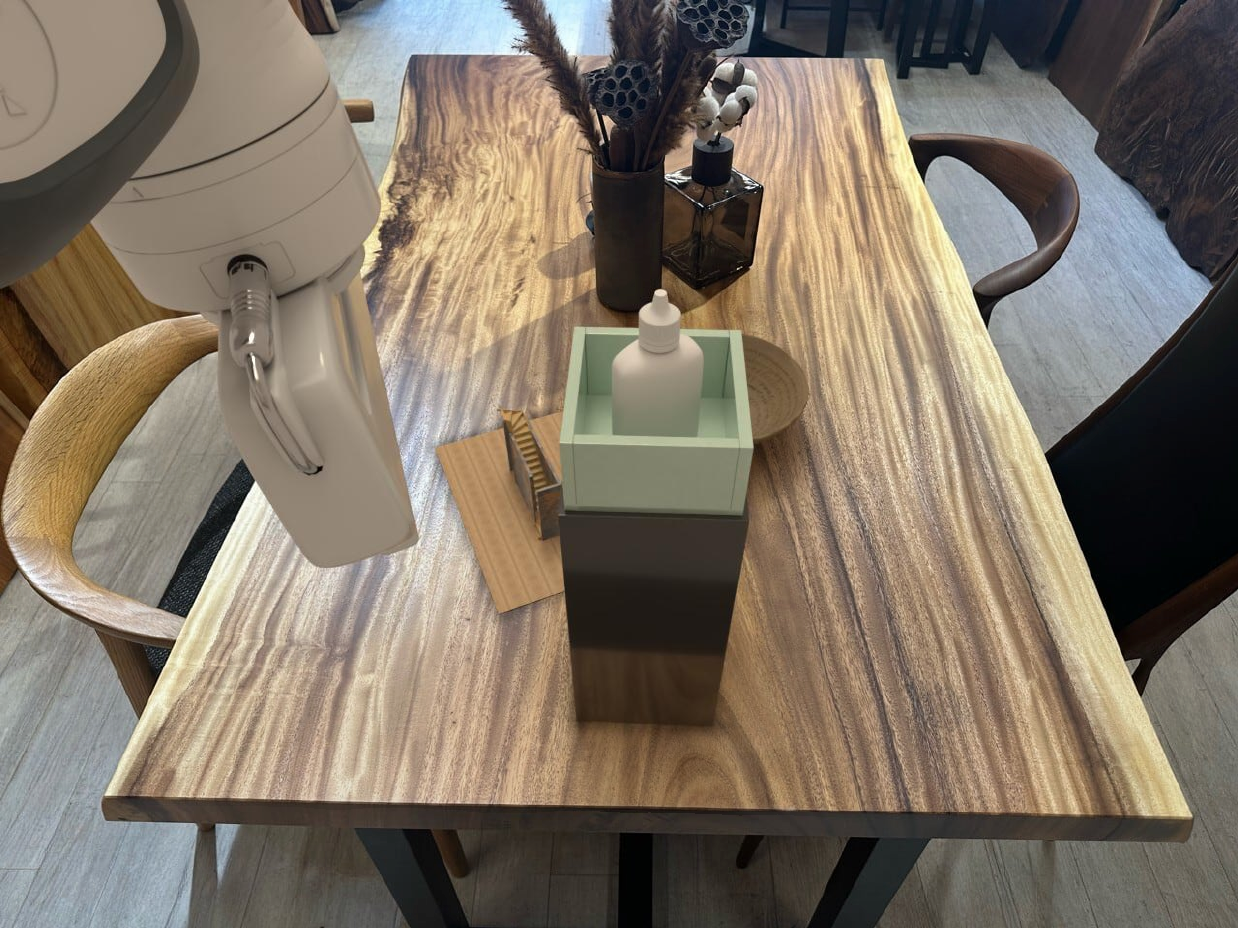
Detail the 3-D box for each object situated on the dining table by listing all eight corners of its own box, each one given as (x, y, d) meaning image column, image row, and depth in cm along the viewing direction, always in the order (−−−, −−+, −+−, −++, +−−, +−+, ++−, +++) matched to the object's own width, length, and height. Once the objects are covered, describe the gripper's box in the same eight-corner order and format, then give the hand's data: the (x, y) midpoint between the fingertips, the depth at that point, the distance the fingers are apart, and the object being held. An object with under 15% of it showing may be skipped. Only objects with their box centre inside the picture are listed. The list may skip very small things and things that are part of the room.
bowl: (823, 473, 91) (836, 422, 85) (665, 499, 89) (668, 447, 83) (768, 371, 104) (777, 320, 98) (629, 390, 101) (629, 339, 95)
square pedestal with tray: (576, 721, 71) (551, 447, 46) (585, 606, 79) (568, 322, 54) (713, 726, 70) (761, 453, 46) (708, 610, 79) (746, 326, 54)
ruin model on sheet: (434, 447, 94) (419, 384, 87) (565, 410, 99) (561, 346, 92) (498, 614, 78) (486, 552, 71) (651, 560, 83) (654, 497, 76)
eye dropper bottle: (615, 419, 56) (614, 269, 47) (697, 424, 55) (710, 273, 47) (610, 465, 53) (607, 313, 44) (696, 470, 52) (710, 318, 44)
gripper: (363, 335, 21) (499, 617, 31) (309, 69, 34) (415, 324, 45) (117, 416, 20) (339, 677, 30) (161, 110, 34) (304, 361, 44)
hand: (384, 464), depth 38 cm, fingers open, 8 cm apart
